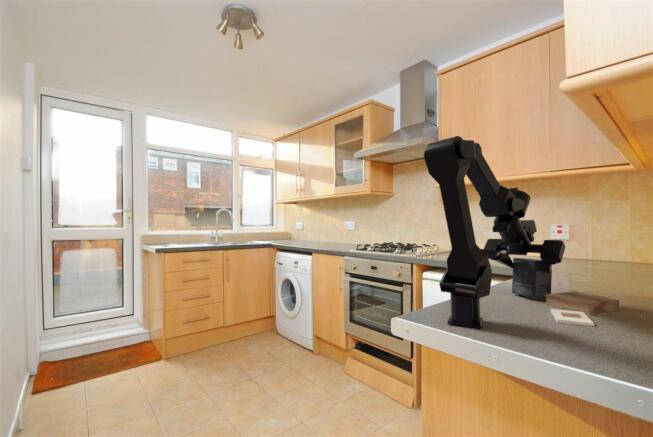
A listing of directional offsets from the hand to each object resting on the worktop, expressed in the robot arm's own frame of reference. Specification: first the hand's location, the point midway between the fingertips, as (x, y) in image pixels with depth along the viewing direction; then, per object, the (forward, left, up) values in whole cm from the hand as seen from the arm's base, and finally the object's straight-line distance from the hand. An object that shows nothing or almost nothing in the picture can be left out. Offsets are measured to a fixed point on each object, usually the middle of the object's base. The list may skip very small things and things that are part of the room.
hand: (530, 268), depth 87 cm
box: (0, 0, -8) cm, 8 cm away
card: (-19, -6, -8) cm, 22 cm away
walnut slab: (-7, -10, -8) cm, 15 cm away
